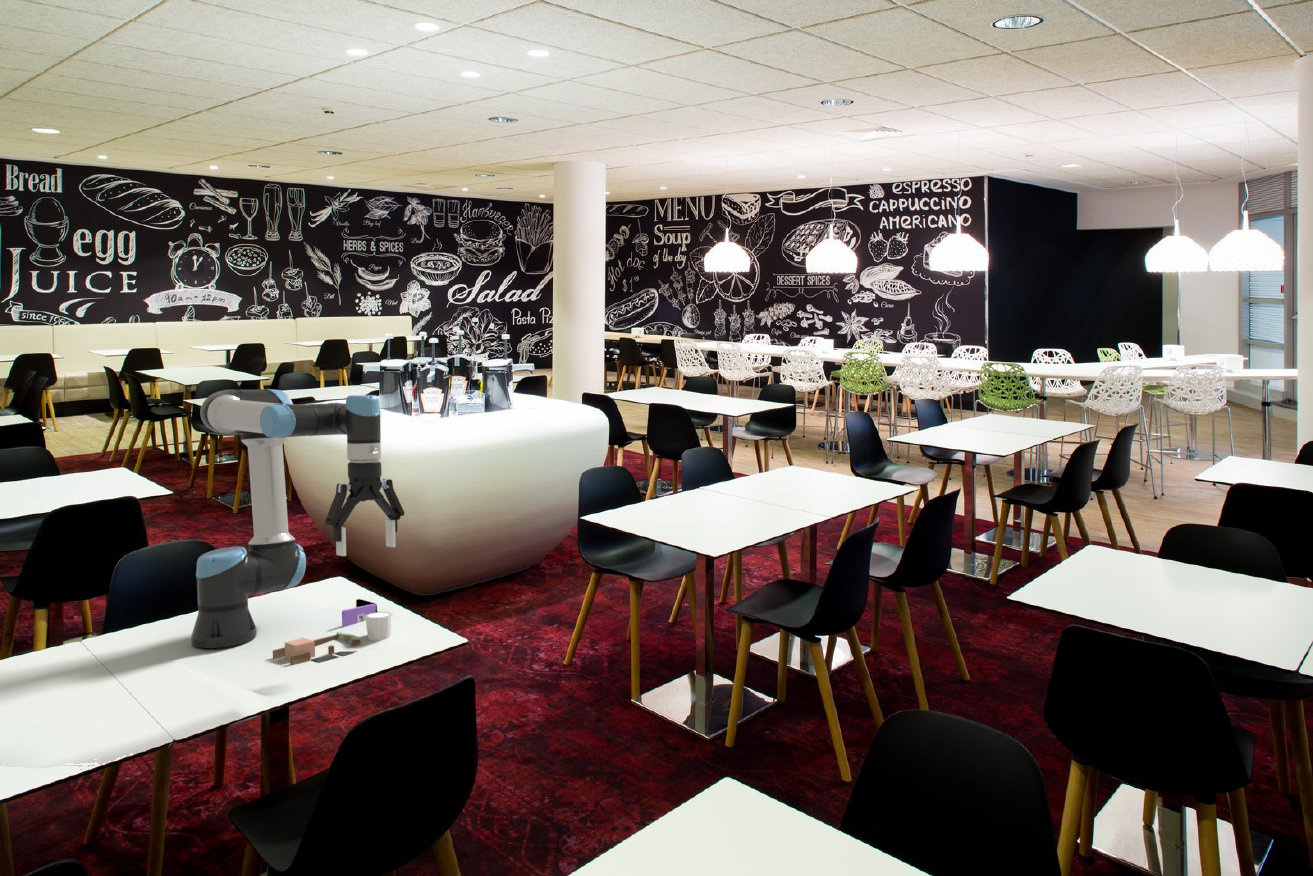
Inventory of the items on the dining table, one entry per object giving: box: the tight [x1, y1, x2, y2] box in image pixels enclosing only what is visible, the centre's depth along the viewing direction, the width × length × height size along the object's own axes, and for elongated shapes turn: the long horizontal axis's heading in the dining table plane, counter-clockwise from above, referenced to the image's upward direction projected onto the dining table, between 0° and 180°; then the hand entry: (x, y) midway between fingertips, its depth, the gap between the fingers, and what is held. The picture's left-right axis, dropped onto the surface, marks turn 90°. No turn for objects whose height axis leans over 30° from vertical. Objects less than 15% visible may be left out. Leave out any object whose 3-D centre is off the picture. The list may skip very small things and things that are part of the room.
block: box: [284, 637, 316, 661], centre depth 222 cm, size 5×5×4 cm
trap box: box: [272, 631, 362, 666], centre depth 225 cm, size 12×18×2 cm
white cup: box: [365, 611, 394, 641], centre depth 235 cm, size 7×7×7 cm
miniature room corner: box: [341, 598, 378, 628], centre depth 249 cm, size 12×12×7 cm
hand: (366, 551), depth 214 cm, fingers open, 13 cm apart
